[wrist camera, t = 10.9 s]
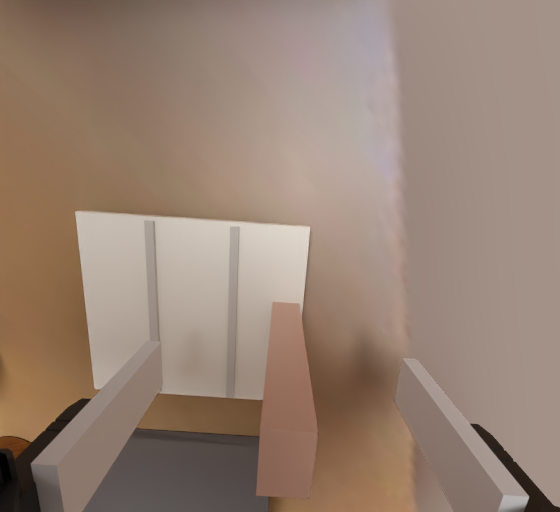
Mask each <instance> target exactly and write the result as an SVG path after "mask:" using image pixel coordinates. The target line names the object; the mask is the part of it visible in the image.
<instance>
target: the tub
mask: <svg viewBox="0 0 560 512" xmlns="http://www.w3.org/2000/svg"><path fill="white" fill-rule="evenodd" d="M259 438H260V437H253V436H238V435H223V434H208V433H193V432H178V431H163V430H148V429H135V430H134V431H133V433H132V435H131V436H130V438H129V439H128V441H127V442H126V444H125V445H124V447H123V449H122V450H121V452H120V453H119V455H118V456H117V458H116V460H115V461H114V463H113V464H112V466H111V467H110V469H109V471H108V472H107V474H106V475H105V477H104V478H103V480H102V482H101V483H100V485H99V486H98V488H97V489H96V491H95V493H94V494H93V496H92V497H91V499H90V500H89V502H88V504H87V505H86V507H85V508H84V510H83V511H82V512H268V508H269V497H268V496H256V488H257V472H258V455H259Z"/></svg>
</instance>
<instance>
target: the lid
mask: <svg viewBox="0 0 560 512" xmlns="http://www.w3.org/2000/svg"><path fill="white" fill-rule="evenodd" d="M75 214H76V223H77V232H78V242H79V251H80V260H81V269H82V278H83V288H84V297H85V306H86V315H87V325H88V334H89V343H90V352H91V361H92V371H93V380H94V389H102V388H103V387H104V386H105V385H106V383H107V382H108V381H109V380H110V379H111V378H112V377H113V376H114V375H115V374H116V373H117V372H118V371H119V370H120V369H121V368H122V367H123V365H124V364H125V363H126V362H127V361H128V360H129V359H130V358H131V357H132V356H133V355H134V354H135V353H136V352H137V351H138V350H139V349H140V347H141V346H142V345H143V344H144V343H145V342H146V341H159V342H161V352H162V378H163V386H162V387H161V389H160V391H159V392H158V393H162V394H177V395H192V396H207V397H222V398H237V399H252V400H263V405H262V415H261V424H260V438H259V455H258V472H257V488H256V496H268V497H284V498H299V499H310V497H311V489H312V480H313V472H314V464H315V456H316V448H317V439H318V427H317V420H316V413H315V407H314V400H313V393H312V386H311V380H310V373H309V366H308V359H307V353H306V346H305V339H304V332H303V326H302V311H303V300H304V290H305V279H306V268H307V257H308V247H309V236H310V226H306V225H291V224H277V223H262V222H248V221H233V220H218V219H204V218H189V217H174V216H160V215H145V214H130V213H116V212H101V211H87V210H85V211H75Z"/></svg>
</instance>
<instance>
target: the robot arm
mask: <svg viewBox="0 0 560 512" xmlns="http://www.w3.org/2000/svg"><path fill="white" fill-rule="evenodd" d="M162 386H163V378H162V352H161V342H159V341H146V342H145V343H144V344H143V345H142V346H141V347H140V349H139V350H138V351H137V352H136V353H135V354H134V355H133V356H132V357H131V358H130V359H129V360H128V361H127V362H126V363H125V364H124V365H123V367H122V368H121V369H120V370H119V371H118V372H117V373H116V374H115V375H114V376H113V377H112V378H111V379H110V380H109V381H108V382H107V383H106V385H105V386H104V387H103V388H102V389H101V390H100V391H99V392H98V393H97V394H96V395H95V396H94V397H93V398H92V399H81V400H79V401H77V402H76V403H74V404H73V405H71V406H69V407H68V408H67V409H66V410H65V411H64V412H63V413H62V414H61V415H60V416H59V417H58V418H56V420H55V422H52V423H51V424H50V425H49V426H48V427H47V428H46V430H45V431H43V432H42V433H41V434H40V435H39V436H38V437H37V438H36V439H35V440H34V441H33V442H32V443H31V444H30V445H29V446H28V447H27V448H26V449H25V450H24V451H23V452H22V453H21V454H20V455H19V456H18V457H17V458H16V459H15V460H14V456H13V452H12V451H11V450H9V449H7V448H2V449H0V512H82V511H83V510H84V508H85V507H86V505H87V504H88V502H89V500H90V499H91V497H92V496H93V494H94V493H95V491H96V489H97V488H98V486H99V485H100V483H101V482H102V480H103V478H104V477H105V475H106V474H107V472H108V471H109V469H110V467H111V466H112V464H113V463H114V461H115V460H116V458H117V456H118V455H119V453H120V452H121V450H122V449H123V447H124V445H125V444H126V442H127V441H128V439H129V438H130V436H131V435H132V433H133V431H134V430H135V428H136V427H137V425H138V424H139V422H140V420H141V419H142V417H143V416H144V414H145V413H146V411H147V409H148V408H149V406H150V405H151V403H152V402H153V400H154V398H155V397H156V395H157V394H158V392H159V391H160V389H161V387H162ZM394 402H395V404H396V406H397V407H398V409H399V411H400V413H401V415H402V417H403V419H404V420H405V422H406V424H407V426H408V428H409V430H410V431H411V433H412V435H413V437H414V439H415V441H416V443H417V444H418V446H419V448H420V450H421V452H422V454H423V455H424V457H425V459H426V461H427V463H428V465H429V467H430V468H431V470H432V472H433V474H434V476H435V478H436V479H437V481H438V483H439V485H440V487H441V489H442V490H443V492H444V494H445V496H446V498H447V500H448V502H449V504H450V505H451V507H452V509H453V511H454V512H560V508H559V507H556V506H554V505H553V504H552V503H551V502H550V501H549V500H548V499H547V497H546V496H545V495H544V494H543V493H542V492H541V491H540V489H539V488H538V487H537V486H536V485H535V484H534V483H533V482H532V480H531V479H530V478H529V477H528V476H527V475H526V473H525V472H524V471H523V470H522V469H521V468H520V467H519V465H518V464H517V463H516V462H514V461H513V459H512V458H511V456H510V455H509V454H508V453H507V452H506V451H504V449H503V447H502V446H501V445H500V444H499V443H498V441H497V440H496V439H495V438H494V437H493V436H492V435H491V434H490V433H489V432H487V431H486V430H485V429H483V428H482V427H481V426H480V425H478V424H469V423H468V421H467V420H466V419H465V418H464V416H463V415H462V414H461V413H460V411H459V410H458V409H457V408H456V407H455V405H454V404H453V403H452V402H451V400H450V399H449V398H448V397H447V396H446V394H445V393H444V392H443V391H442V389H441V388H440V387H439V386H438V385H437V383H436V382H435V381H434V380H433V379H432V377H431V376H430V375H429V374H428V372H427V371H426V370H425V369H424V368H423V367H422V365H421V364H420V363H419V361H418V360H417V359H410V358H402V363H401V368H400V373H399V378H398V383H397V388H396V393H395V399H394Z"/></svg>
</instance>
